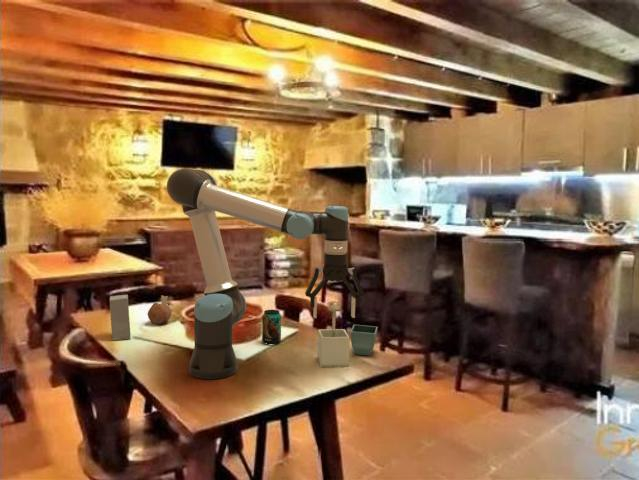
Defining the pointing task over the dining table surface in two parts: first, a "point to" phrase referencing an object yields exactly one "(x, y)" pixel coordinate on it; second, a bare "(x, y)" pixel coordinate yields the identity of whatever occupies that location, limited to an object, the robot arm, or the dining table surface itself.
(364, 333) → the flower pot
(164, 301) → the architectural model
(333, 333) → the plunger
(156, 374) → the dining table surface
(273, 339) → the beverage can
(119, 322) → the skincare box
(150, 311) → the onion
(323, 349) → the cream square planter
